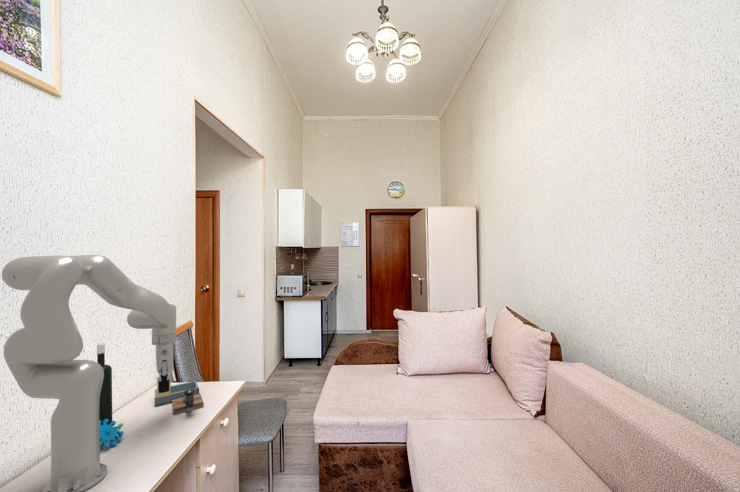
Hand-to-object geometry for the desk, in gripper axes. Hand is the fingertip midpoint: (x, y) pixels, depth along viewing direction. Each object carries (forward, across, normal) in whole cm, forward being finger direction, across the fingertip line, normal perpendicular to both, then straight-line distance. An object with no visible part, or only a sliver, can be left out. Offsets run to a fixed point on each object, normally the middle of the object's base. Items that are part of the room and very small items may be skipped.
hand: (163, 389), depth 117 cm
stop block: (+2, 0, 0) cm, 2 cm away
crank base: (+11, +8, -8) cm, 16 cm away
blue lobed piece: (+12, -6, +15) cm, 20 cm away
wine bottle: (+12, +5, +18) cm, 22 cm away
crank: (+8, +3, -8) cm, 12 cm away
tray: (+10, +21, -5) cm, 24 cm away
